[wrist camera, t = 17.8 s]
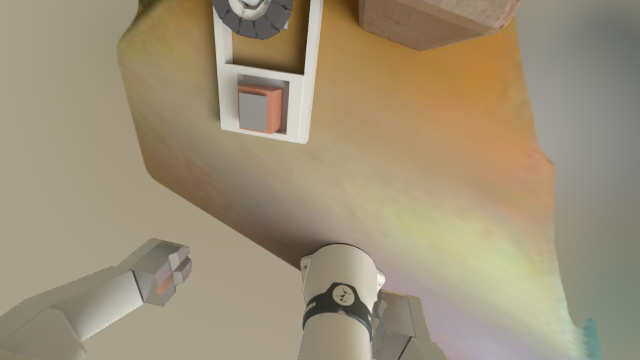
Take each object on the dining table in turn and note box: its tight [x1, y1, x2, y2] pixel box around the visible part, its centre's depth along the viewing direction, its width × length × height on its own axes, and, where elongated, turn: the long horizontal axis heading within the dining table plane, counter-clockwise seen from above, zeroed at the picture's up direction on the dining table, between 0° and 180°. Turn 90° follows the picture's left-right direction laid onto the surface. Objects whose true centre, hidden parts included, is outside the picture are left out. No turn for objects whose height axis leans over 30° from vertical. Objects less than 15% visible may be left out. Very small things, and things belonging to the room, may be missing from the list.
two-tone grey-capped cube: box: [238, 84, 283, 134], centre depth 35 cm, size 6×5×6 cm
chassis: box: [213, 0, 324, 144], centre depth 31 cm, size 22×14×9 cm, turn 173°
